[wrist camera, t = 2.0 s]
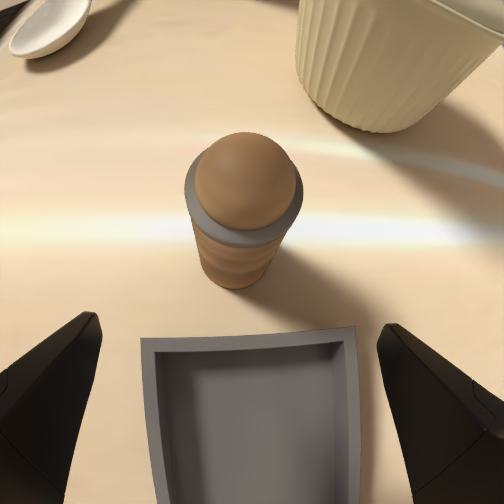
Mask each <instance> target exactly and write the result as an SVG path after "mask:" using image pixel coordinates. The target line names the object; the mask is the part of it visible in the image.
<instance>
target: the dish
mask: <svg viewBox="0 0 504 504" xmlns="http://www.w3.org/2000/svg"><path fill="white" fill-rule="evenodd" d="M140 339H141V364H142V381H143V395H144V407H145V418H146V428H147V437H148V445H149V453H150V461H151V468H152V474H153V481H154V487H155V493H156V498H157V504H359V500H360V468H361V429H360V395H359V375H358V359H357V346H356V333H355V326H351V327H342V328H333V329H323V330H313V331H302V332H290V333H277V334H262V335H245V336H223V337H190V338H140Z"/></svg>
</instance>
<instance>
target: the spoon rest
mask: <svg viewBox="0 0 504 504" xmlns="http://www.w3.org/2000/svg"><path fill="white" fill-rule="evenodd" d="M91 1H92V0H45V1H44V2H43V3H42V4H41V5H40V6H39V7H38V8H37V9H36V10H35V11H34V12H33V13H32V14H31V15H30V16H29V17H28V18H27V19H26V20H25V21H24V22H23V23H22V24H21V26H20V27H19V28H18V29H17V31H16V32H15V33H14V35H13V36H12V38H11V40H10V43H9V51H10V53H11V54H12V55H13V56H16V57H20V58H27V59H33V58H39V57H43V56H46V55H48V54H51V53H53V52H55V51H57V50H59V49H60V48H62V47H64V46H65V45H66V44H68V43H69V42H70V41H71V40H72V39H73V38H74V37H75V36H76V35H77V34H78V32H79V31H80V30H81V28H82V27H83V25H84V23H85V21H86V19H87V16H88V13H89V10H90V6H91Z"/></svg>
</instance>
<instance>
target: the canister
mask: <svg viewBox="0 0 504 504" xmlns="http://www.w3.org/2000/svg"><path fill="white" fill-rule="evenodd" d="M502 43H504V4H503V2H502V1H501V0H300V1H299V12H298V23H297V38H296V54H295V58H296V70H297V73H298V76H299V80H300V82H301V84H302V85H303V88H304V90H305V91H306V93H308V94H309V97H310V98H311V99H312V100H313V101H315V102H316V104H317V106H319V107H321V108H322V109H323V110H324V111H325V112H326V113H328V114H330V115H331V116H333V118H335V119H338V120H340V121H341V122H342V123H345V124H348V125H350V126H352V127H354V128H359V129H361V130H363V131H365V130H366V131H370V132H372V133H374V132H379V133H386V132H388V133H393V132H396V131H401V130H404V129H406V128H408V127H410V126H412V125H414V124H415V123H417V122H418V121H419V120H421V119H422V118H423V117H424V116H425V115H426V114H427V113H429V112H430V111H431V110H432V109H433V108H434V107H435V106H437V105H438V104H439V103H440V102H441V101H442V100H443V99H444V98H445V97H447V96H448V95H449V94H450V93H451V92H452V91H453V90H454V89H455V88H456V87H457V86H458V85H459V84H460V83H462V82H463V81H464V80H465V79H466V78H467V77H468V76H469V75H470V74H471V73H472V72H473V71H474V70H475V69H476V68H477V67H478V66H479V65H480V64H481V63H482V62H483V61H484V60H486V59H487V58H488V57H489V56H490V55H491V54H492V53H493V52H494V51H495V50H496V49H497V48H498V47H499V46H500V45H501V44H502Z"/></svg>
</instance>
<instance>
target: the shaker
mask: <svg viewBox="0 0 504 504" xmlns="http://www.w3.org/2000/svg"><path fill="white" fill-rule="evenodd" d="M184 190H185V199H186V204H187V208H188V211H189V214H190V216H191V221H192V226H193V230H194V235H195V239H196V244H197V248H198V252H199V257H200V261H201V265H202V268H203V270H204V272H205V274H206V275H207V276H208V277H209V279H210V280H212V281H213V282H214V283H216V284H217V285H219V286H221V287H224V288H228V289H241V288H245V287H248V286H250V285H252V284H254V283H255V282H256V281H258V280H259V279H260V278H261V276H262V275H263V273H264V272H265V270H266V268H267V267H268V265H269V263H270V261H271V259H272V258H273V256H274V254H275V252H276V250H277V249H278V247H279V245H280V243H281V242H282V240H283V238H284V236H285V234H286V233H287V231H288V229H289V228H290V227H291V226H292V224H293V222H294V220H295V219H296V217H297V215H298V213H299V211H300V209H301V206H302V201H303V184H302V179H301V177H300V174H299V172H298V170H297V168H296V166H295V165H294V164H293V162H292V161H291V160H290V158H289V157H288V155H287V154H286V152H285V151H284V150H283V149H282V147H281V146H279V145H278V144H277V143H276V142H274V141H273V140H271V139H270V138H268V137H266V136H263V135H260V134H256V133H250V132H241V133H234V134H231V135H228V136H225V137H223V138H221V139H219V140H218V141H216V142H215V143H214V144H212V145H211V146H210V147H209V148H207V149H206V150H205V151H203V152H202V153H201V154H200V155H199V156H198V157H197V158H196V159H195V160H194V162H193V163H192V165H191V166H190V168H189V170H188V173H187V176H186V180H185V187H184Z"/></svg>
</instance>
